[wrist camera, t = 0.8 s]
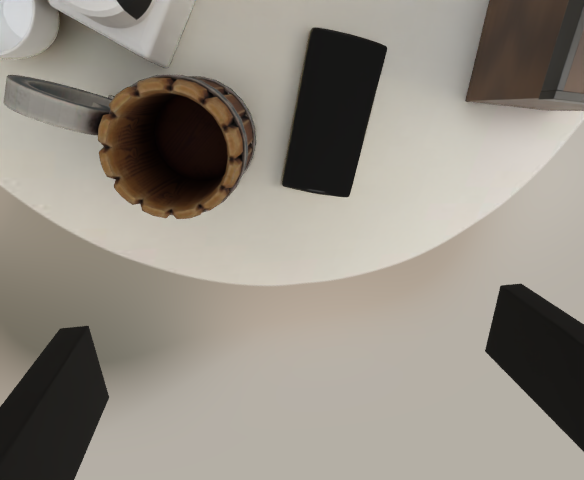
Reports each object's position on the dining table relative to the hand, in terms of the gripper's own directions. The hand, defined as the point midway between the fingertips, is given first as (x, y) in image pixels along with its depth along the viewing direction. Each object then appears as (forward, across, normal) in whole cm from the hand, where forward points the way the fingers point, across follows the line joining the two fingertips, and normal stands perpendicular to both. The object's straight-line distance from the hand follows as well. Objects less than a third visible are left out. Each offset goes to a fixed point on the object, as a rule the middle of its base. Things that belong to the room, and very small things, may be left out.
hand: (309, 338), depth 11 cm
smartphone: (+27, +7, +5) cm, 29 cm away
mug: (+28, -8, +5) cm, 29 cm away
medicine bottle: (+28, -9, +15) cm, 33 cm away
